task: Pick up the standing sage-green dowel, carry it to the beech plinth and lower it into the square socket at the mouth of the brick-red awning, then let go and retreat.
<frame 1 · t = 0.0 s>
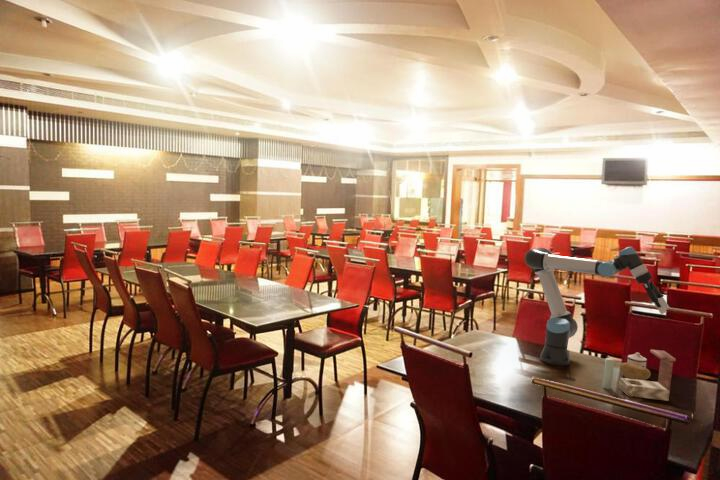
hand: (665, 311, 243), 36 cm above the table, tool tilted 35°, fingers open, 13 cm apart
teacup with lid: (636, 374, 253), on the table
potato: (634, 380, 243), on the table
peg: (606, 387, 231), on the table
socket stand: (642, 393, 225), on the table
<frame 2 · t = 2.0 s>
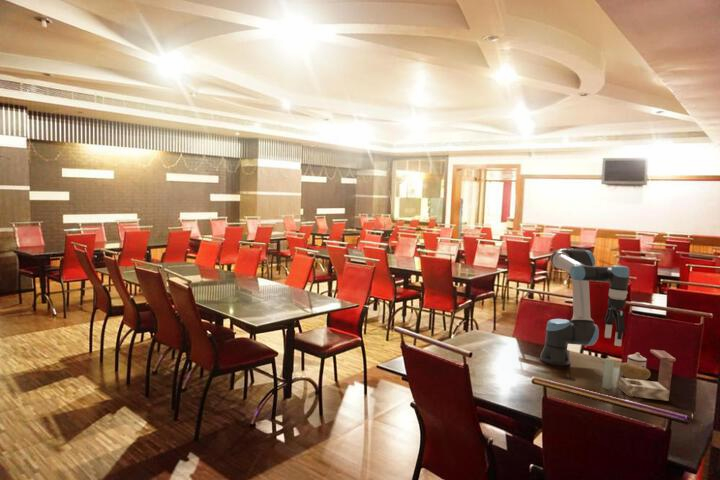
hand: (612, 341, 229), 23 cm above the table, tool pointing down, fingers open, 13 cm apart
nothing on the table moved.
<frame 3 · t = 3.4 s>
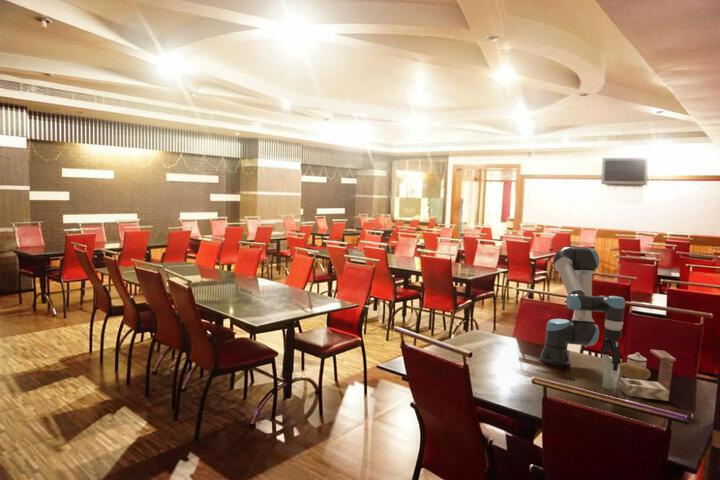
hand: (608, 372, 229), 8 cm above the table, tool pointing down, fingers open, 13 cm apart
nothing on the table moved.
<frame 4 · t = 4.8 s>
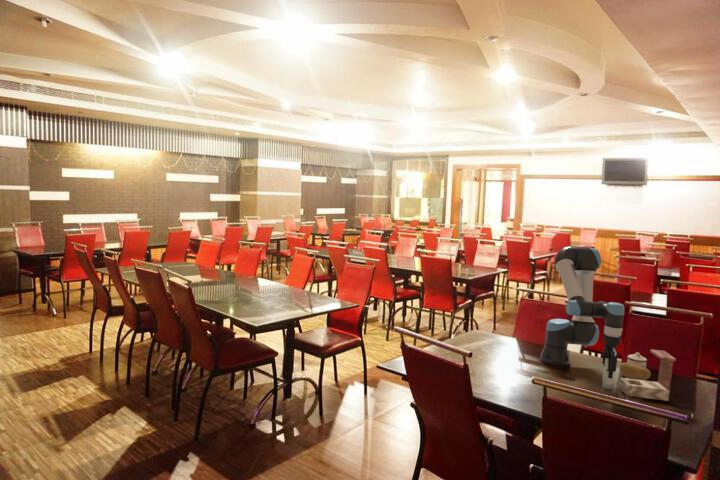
hand: (607, 382, 230), 3 cm above the table, tool pointing down, fingers closed on peg, 4 cm apart
peg: (606, 387, 231), on the table, touching gripper
everything else where it was.
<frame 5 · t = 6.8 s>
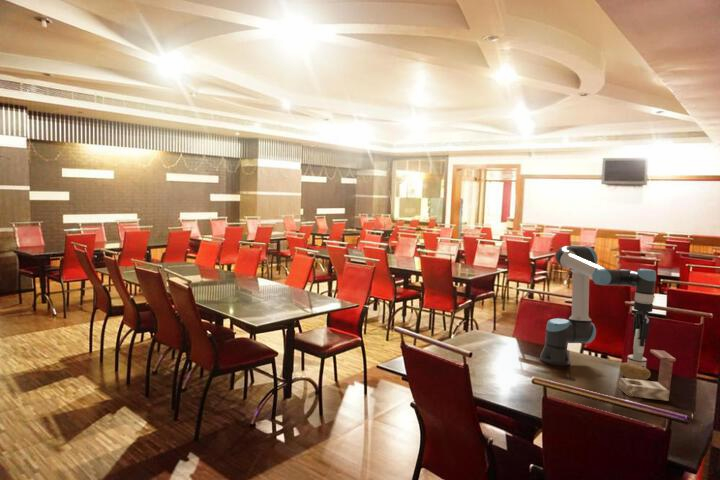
hand: (638, 351, 224), 20 cm above the table, tool pointing down, fingers closed on peg, 4 cm apart
peg: (637, 358, 224), point 17 cm above the table, touching gripper
everything else where it was.
when the fingers open (6 cm above the table, at t = 8.9 s): peg stays where it is, resting in socket stand.
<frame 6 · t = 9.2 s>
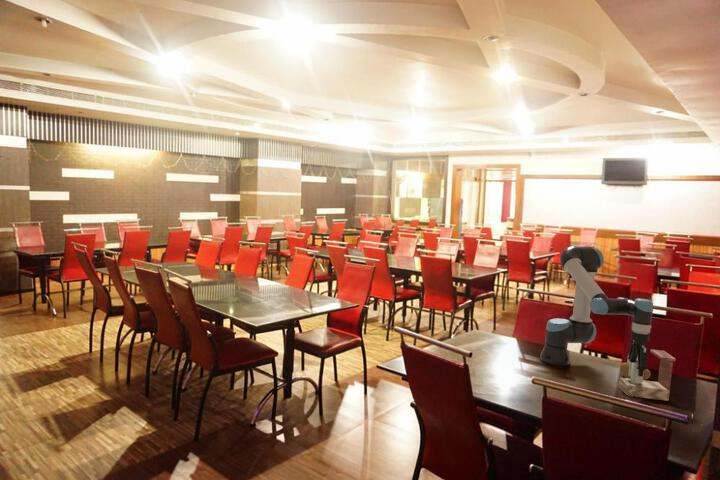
hand: (635, 379, 225), 7 cm above the table, tool pointing down, fingers open, 8 cm apart
peg: (633, 392, 226), resting in socket stand
everything else where it was.
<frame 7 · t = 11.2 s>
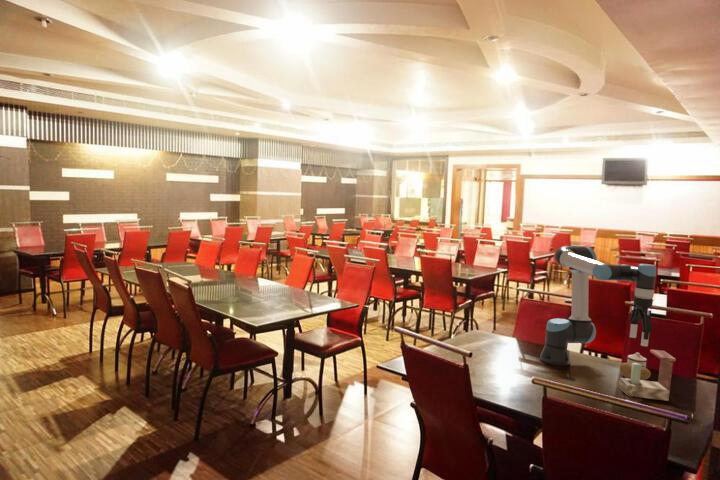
hand: (638, 341, 224), 25 cm above the table, tool pointing down, fingers open, 13 cm apart
nothing on the table moved.
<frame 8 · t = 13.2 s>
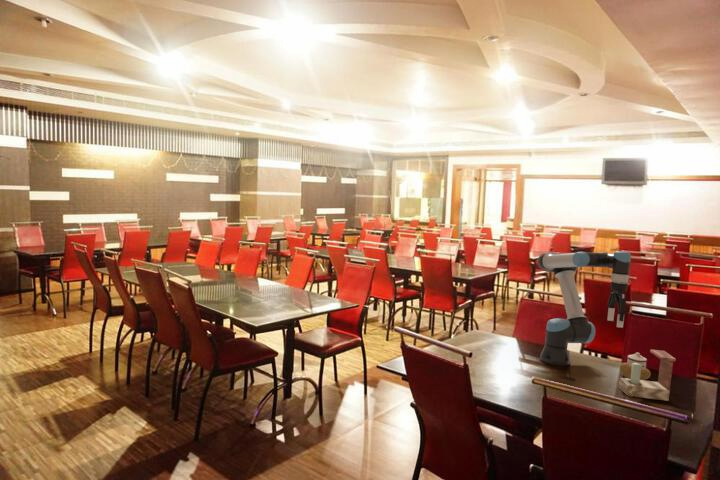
hand: (614, 323, 240), 29 cm above the table, tool pointing down, fingers open, 13 cm apart
nothing on the table moved.
at the end: peg 0.0 cm from the target spot on the socket stand, point 0.0 cm above the socket stand's base; peg tilted 0°; the gripper is holding nothing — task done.
